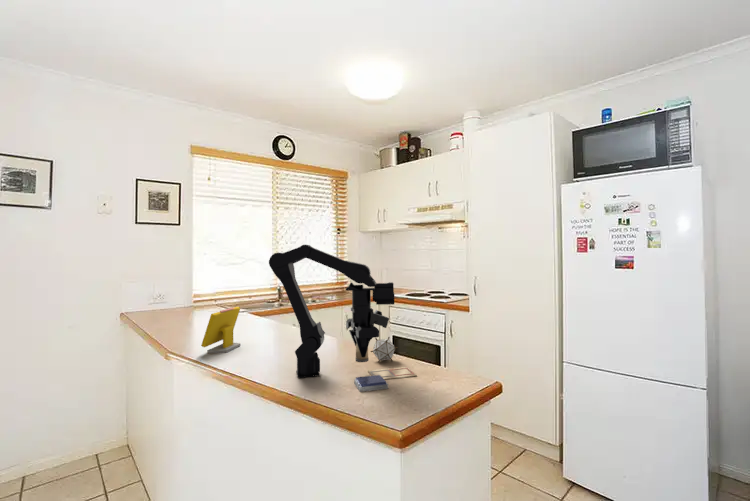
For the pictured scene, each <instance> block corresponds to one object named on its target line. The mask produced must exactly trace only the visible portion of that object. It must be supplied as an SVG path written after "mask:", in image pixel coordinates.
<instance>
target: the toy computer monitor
mask: <svg viewBox="0 0 750 501" xmlns="http://www.w3.org/2000/svg"><path fill="white" fill-rule="evenodd" d="M240 311H241V307H240V306H235V307H230V308H229V307H228V308H225V309H222V310H219V311H217V312H214V313H211V315H210V317H209V320H208V322H207V327H206V330H205V331H204V332H205V333H204V335H203V338H202V343H201V347H203V348H207V347H209V346H211V345H214V344H215V343H218V342H220V341H222V343H221V344H219V345H216V346H214V347H212V348H209V349H208V350H207V352H206V353H207V354H220V353H221V354H222V353H223V354H224V353H229V352H231V351H234V350H235V349H236V348H239V347H241V343H240V342H234V329H235V326H236V323H237V321H238V317H239V314H240Z"/></svg>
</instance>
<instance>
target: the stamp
mask: <svg viewBox="0 0 750 501" xmlns="http://www.w3.org/2000/svg"><path fill="white" fill-rule="evenodd" d="M355 362H357V363H367V362H369V348H368V349H367V353H366V356H365V357H362V356H361V354H360V351H359V348H358V345H357V343H356V346H355Z"/></svg>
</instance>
